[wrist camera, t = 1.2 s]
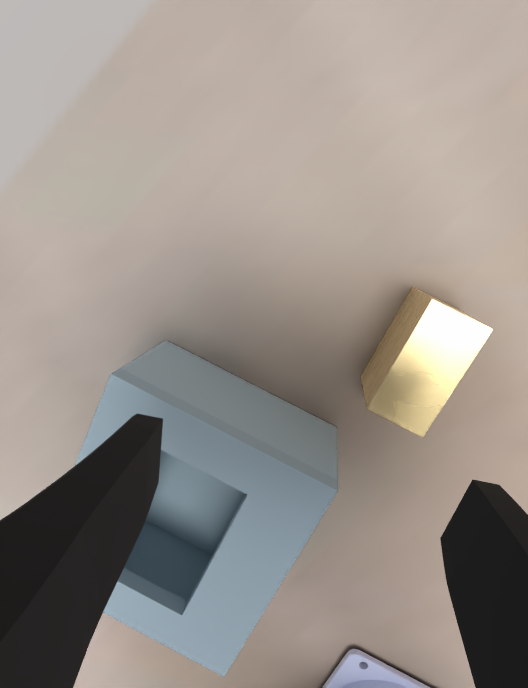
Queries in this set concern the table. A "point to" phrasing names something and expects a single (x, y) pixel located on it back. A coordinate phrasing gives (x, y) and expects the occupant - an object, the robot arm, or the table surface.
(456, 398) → the table surface
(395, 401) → the tan rectangular block
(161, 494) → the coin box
